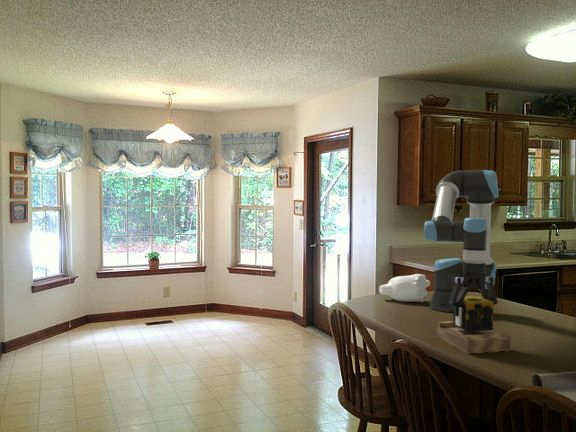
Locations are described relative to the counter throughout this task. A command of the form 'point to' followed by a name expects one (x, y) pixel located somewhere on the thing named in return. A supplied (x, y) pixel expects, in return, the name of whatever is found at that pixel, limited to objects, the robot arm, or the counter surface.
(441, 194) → the robot arm
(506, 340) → the display stand
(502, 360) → the counter surface
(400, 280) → the mask
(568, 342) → the counter surface
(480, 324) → the candle
